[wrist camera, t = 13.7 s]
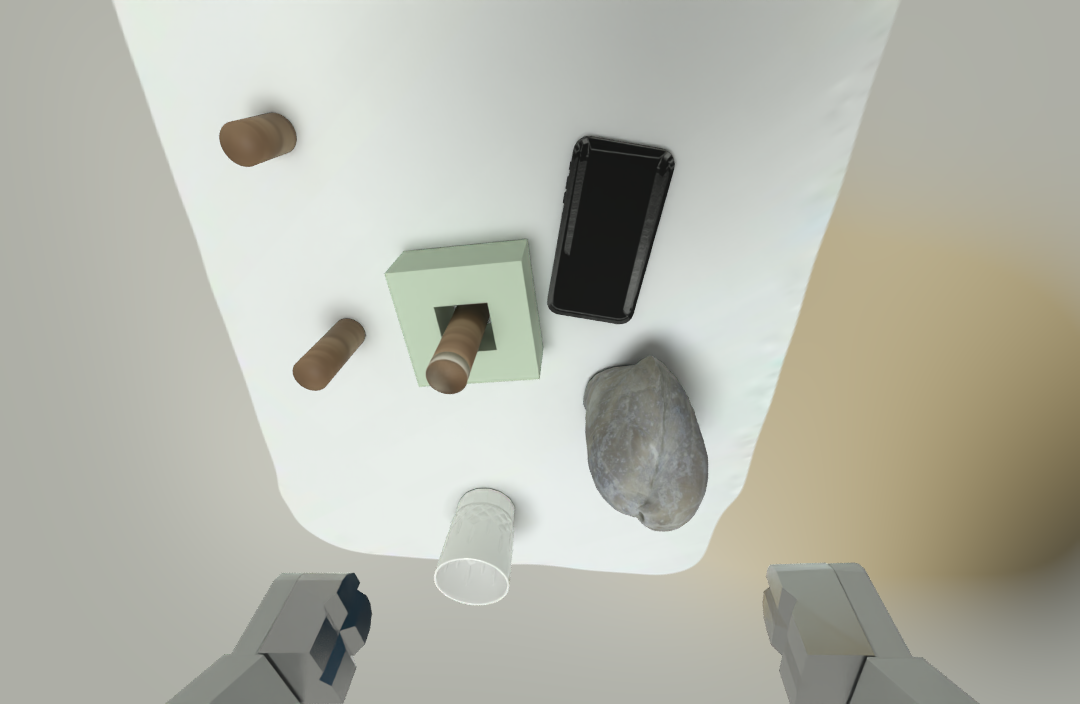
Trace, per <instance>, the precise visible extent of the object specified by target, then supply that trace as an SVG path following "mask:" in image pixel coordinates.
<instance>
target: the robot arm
mask: <svg viewBox="0 0 1080 704" xmlns="http://www.w3.org/2000/svg"><path fill="white" fill-rule="evenodd" d="M767 580H768V583H769V586H770V587H769V588H768V589H766V590H765V591H764V595H763V613H764V620H765V624H766V629H767V632H768V636H769V639H770V642H771V645H772V646H773V647H774V648H775V649H776V650H777V651H778V652H779V653H780V654H781V655H782V660H781V665H780V670H779V671H780V674H781V678H782V680H783V684H784V687H785V690H786V693H787V696H788V699H789V702H790V704H979V703H978V702H977V701H975V700H974V699H973V698H972V697H971V696H969V695H968V694H967V693H966V692H964V691H963V690H962V689H961V688H959V687H958V686H957V685H956V684H954V683H953V682H952V681H951V680H950V679H948V678H947V677H946V676H945V675H943V674H942V673H941V672H940V671H939V670H937V669H936V668H935V667H933V666H932V665H931V664H930V663H929V662H927V661H926V660H925V659H924V658H922V657H912V655H911V653H910V651H909V649H908V648H907V646H906V644H905V642H904V640H903V639H902V637H901V635H900V633H899V631H898V629H897V628H896V626H895V624H894V622H893V620H892V618H891V616H890V615H889V613H888V611H887V609H886V607H885V606H884V604H883V602H882V600H881V598H880V596H879V595H878V593H877V591H876V589H875V587H874V585H873V584H872V582H871V580H870V578H869V576H868V574H867V573H866V571H865V569H864V568H863V567H862V566H861V565H859V564H858V563H833V564H826V563H806V564H777V565H770V566H769V568H768V570H767ZM359 584H360V582H359V580H358V578H357V576H356V575H355V573H282V574H281V575H280V576H278V577H277V578H276V579H275V580H274V581H273V583H272V585H271V586H270V588H269V590H268V592H267V593H266V595H265V597H264V598H263V600H262V602H261V604H260V605H259V607H258V609H257V610H256V612H255V614H254V616H253V617H252V619H251V621H250V622H249V624H248V626H247V628H246V629H245V631H244V633H243V635H242V636H241V638H240V640H239V641H238V643H237V645H236V647H235V648H234V650H233V652H232V654H224V655H223V656H222V657H221V658H219V659H218V660H217V661H216V662H215V663H213V664H212V665H211V666H210V667H209V668H208V669H206V670H205V671H204V672H203V673H201V674H200V675H199V676H198V677H197V678H195V679H194V680H193V681H192V682H191V683H190V684H188V685H187V686H186V687H185V688H184V689H182V690H181V691H180V692H179V693H178V694H176V695H175V696H174V697H173V698H172V699H170V700H169V701H168V702H167V703H166V704H343V702H344V700H345V697H346V694H347V692H348V689H349V686H350V684H351V681H352V678H353V676H354V673H355V670H356V664H355V660H354V655H355V654H356V653H357V652H358V651H359V650H360V648H362V647H363V646H364V645H365V642H366V639H367V636H368V634H369V631H370V625H371V616H372V611H371V604H370V602H369V600H368V597H367V596H366V595H365V594H363V593H362V592H360V591H359V590H357V589H358V587H359Z"/></svg>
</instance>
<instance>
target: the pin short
mask: <svg viewBox="0 0 1080 704" xmlns="http://www.w3.org/2000/svg"><path fill="white" fill-rule="evenodd" d="M219 139H220V144H221V147H222V149H223V151H224V152H225V154H226V155H227V156H228V157H229V158H230V159H231V160H232V161H233V162H235V163H236V164H238V165H241V166H245V167H251V166H254V165H257V164H259V163H262V162H265V161H267V160H270V159H273V158H275V157H278V156H281V155H283V154H286V153H289V152H291V151H292V150H293V149H294V147H295V145H296V140H297V138H296V132H295V130H294V127H293V126H292V124H291V123H290V122H289V120H288V119H286V118H285V117H284V116H282V115H280V114H277V113H267V114H262V115H258V116H254V117H249V118H245V119H240V120H236V121H231V122H228V123H226V124H225V125H224V126H223V127H222V128H221V130H220V135H219Z"/></svg>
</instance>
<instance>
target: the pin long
mask: <svg viewBox="0 0 1080 704" xmlns="http://www.w3.org/2000/svg"><path fill="white" fill-rule="evenodd" d="M489 317H490V313H489V308H488V303H476V304H464V305H457V307H456V309H455V311H454V313H453V316H452V318H451V320H450V322H449V324H448V326H447V328H446V330H445V332H444V334H443V336H442V338H441V340H440V342H439V345H438V347H437V349H436V351H435V353H434V355H433V357H432V359H431V360H430V363H429V365H428V367H427V369H426V379H427V381H428V383H429V385H430V386H431V387H432V388H433V389H435V390H437V391H438V392H441V393H444V394H455V393H458V392H460V391H462V390H463V389H464V388H465V386H466V384H467V382H468V379H469V376H470V372H471V369H472V366H473V363H474V360H475V358H476V355H477V352H478V349H479V346H480V343H481V340H482V337H483V334H484V331H485V329H486V326H487V323H488V320H489Z"/></svg>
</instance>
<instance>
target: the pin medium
mask: <svg viewBox="0 0 1080 704" xmlns="http://www.w3.org/2000/svg"><path fill="white" fill-rule="evenodd" d="M364 339H365V331H364V329H363V327H362V326H361V325H360V324H359V323H358V322H356V321H355V320H352V319H341V320H339V321H338V322H337V323H336V324H335V325H334V326H333V327H332V328H331V329H330V330H329V331H328V332H327V333H326V334H325V335H324V336H323V337H322V338H321V339H320V340H319V341H318V342H317V343H316V344H315V345H314V346H313V347H312V348H311V349H310V350H309V351H308V352H307V353H306V354H305V355H304V356H303V357H302V358H301V359H300V360H299V361H298V362H297V363H296V364H295V365H294V367H293V375H294V378H295V380H296V381H297V382H298V383H299V384H300V385H301V386H302V387H304V388H306V389H309V390H314V391H317V390H321V389H323V388H325V387H326V386H327V384H328V383H329V382H330V381H331V380H332V378H333V377H334V376H335V375H336V374H337V372H338V371H339V370H340V369H341V368H342V366H343V365H344V364H345V363H346V362H347V361H348V359H349V358H350V357H351V356H352V355H353V353H354V352H355V351H356V350H357V349H358V347H359V346H360V345H361V344H362V343H363V341H364Z"/></svg>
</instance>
